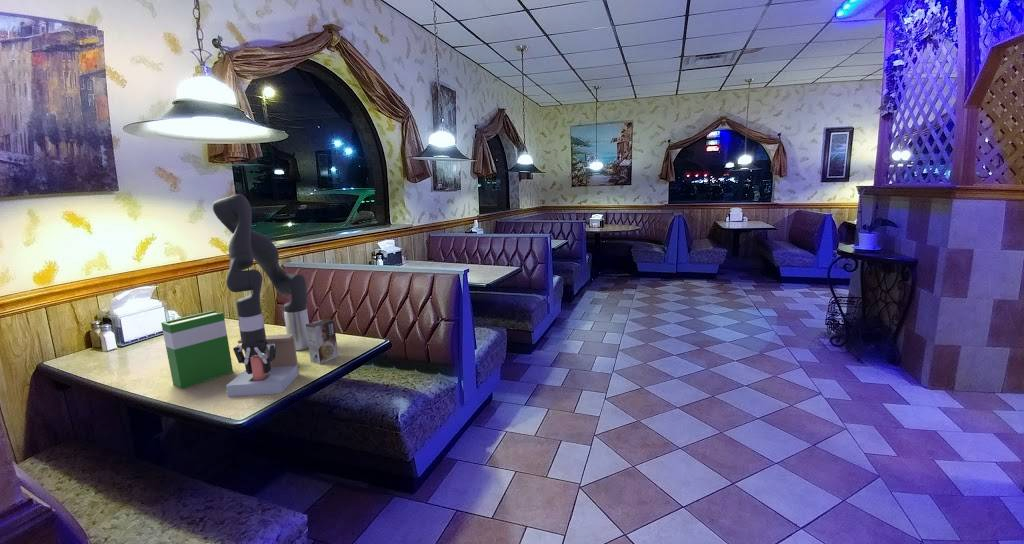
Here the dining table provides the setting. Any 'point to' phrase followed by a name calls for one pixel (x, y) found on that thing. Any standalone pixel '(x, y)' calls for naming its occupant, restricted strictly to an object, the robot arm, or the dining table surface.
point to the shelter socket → (277, 377)
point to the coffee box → (322, 341)
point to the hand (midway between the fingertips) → (259, 372)
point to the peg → (257, 368)
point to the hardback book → (197, 348)
